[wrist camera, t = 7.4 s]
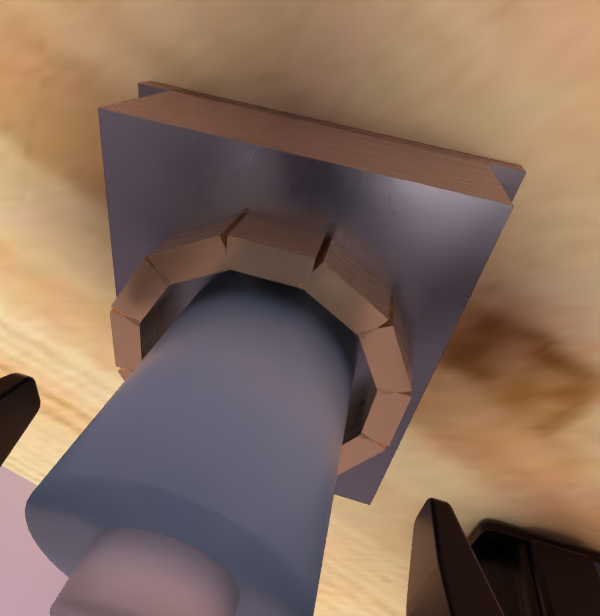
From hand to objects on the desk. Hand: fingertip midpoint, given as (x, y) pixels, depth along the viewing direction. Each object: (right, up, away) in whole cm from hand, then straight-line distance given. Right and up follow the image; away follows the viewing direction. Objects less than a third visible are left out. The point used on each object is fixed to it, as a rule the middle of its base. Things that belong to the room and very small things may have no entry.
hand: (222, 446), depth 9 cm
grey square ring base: (+2, +4, +6) cm, 7 cm away
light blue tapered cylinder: (+1, +2, +3) cm, 3 cm away
